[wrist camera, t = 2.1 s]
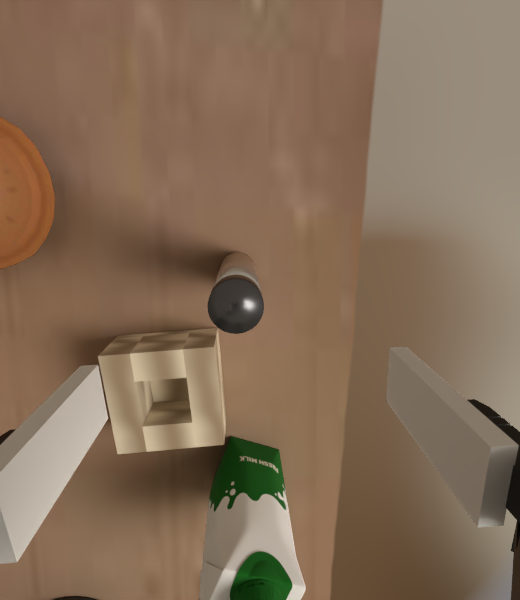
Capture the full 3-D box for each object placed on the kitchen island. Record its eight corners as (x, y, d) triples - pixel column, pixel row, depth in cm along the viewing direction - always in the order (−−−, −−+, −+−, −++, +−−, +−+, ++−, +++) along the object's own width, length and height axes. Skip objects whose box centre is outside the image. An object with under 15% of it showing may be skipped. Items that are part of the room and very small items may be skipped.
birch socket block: (133, 422, 44) (117, 454, 38) (117, 335, 41) (97, 356, 35) (226, 414, 45) (224, 444, 39) (217, 327, 42) (213, 346, 36)
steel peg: (222, 287, 40) (210, 335, 25) (219, 253, 39) (204, 281, 24) (256, 284, 40) (265, 331, 25) (253, 250, 39) (262, 277, 24)
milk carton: (287, 445, 46) (321, 613, 27) (264, 497, 48) (280, 688, 29) (226, 428, 45) (215, 590, 26) (205, 482, 47) (180, 670, 28)
